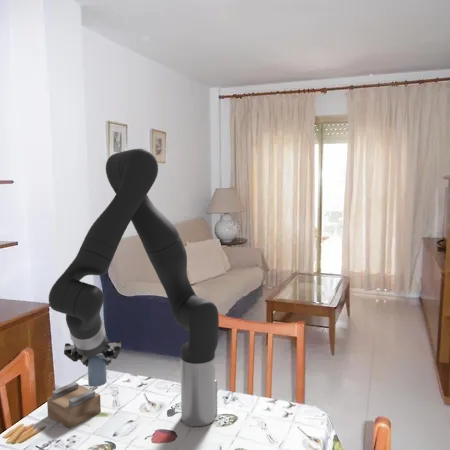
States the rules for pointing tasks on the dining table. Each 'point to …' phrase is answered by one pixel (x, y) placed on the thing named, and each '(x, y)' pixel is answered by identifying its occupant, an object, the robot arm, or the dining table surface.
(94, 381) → the ball-topped blue cylinder
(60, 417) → the display plinth
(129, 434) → the dining table surface
